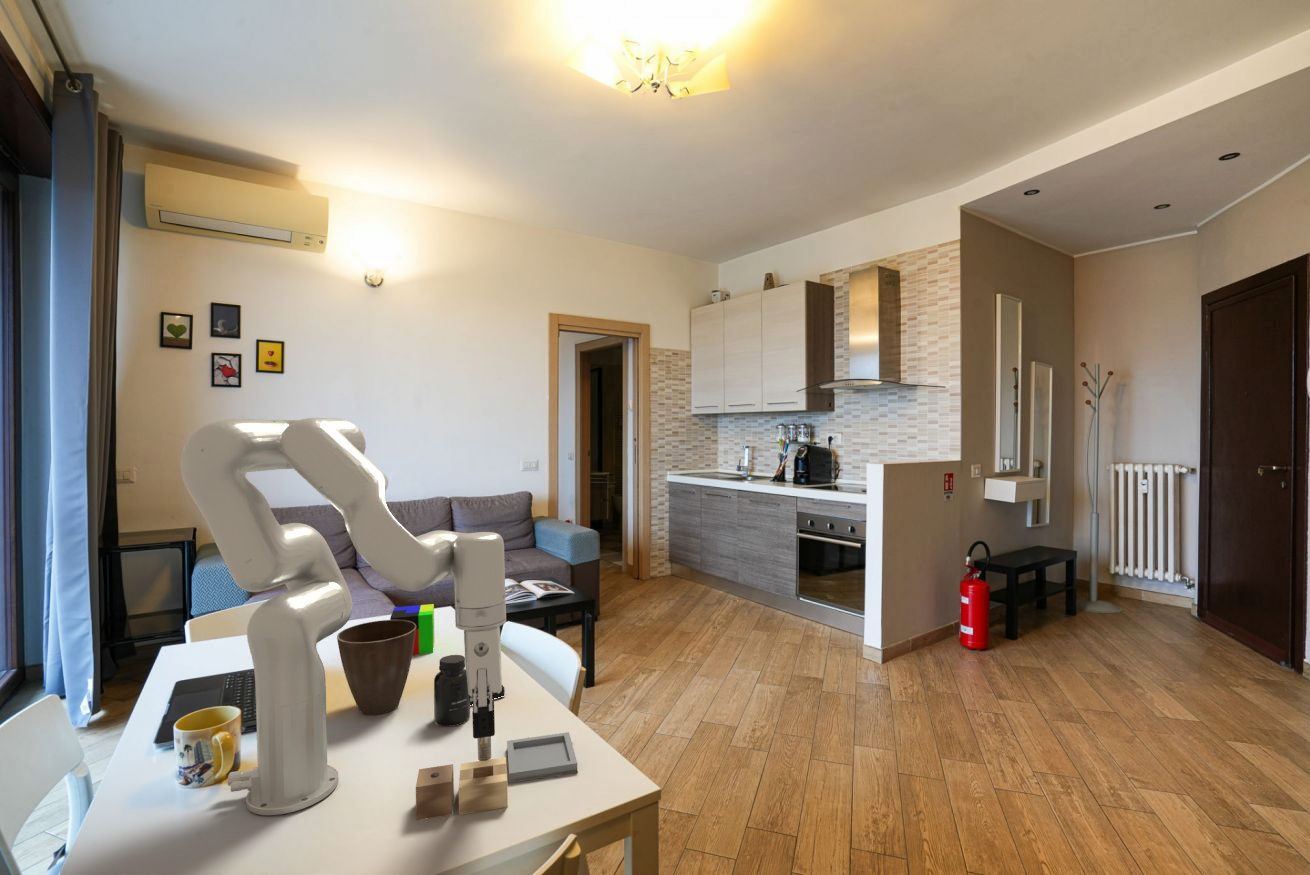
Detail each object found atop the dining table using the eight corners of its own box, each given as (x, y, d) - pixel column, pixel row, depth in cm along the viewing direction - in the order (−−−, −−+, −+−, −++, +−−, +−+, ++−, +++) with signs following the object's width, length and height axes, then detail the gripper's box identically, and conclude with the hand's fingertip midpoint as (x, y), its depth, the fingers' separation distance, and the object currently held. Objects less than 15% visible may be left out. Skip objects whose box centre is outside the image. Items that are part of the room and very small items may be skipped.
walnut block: (416, 821, 91) (415, 786, 91) (419, 801, 96) (419, 768, 96) (452, 814, 92) (451, 780, 92) (453, 795, 97) (453, 763, 97)
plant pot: (321, 715, 125) (320, 636, 125) (382, 687, 138) (381, 615, 138) (374, 730, 119) (373, 646, 118) (433, 699, 132) (431, 624, 132)
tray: (509, 782, 100) (509, 773, 100) (507, 749, 111) (507, 740, 111) (577, 772, 103) (577, 763, 103) (569, 740, 114) (568, 732, 114)
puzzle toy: (394, 644, 166) (394, 607, 166) (434, 640, 169) (433, 603, 169) (390, 657, 157) (390, 618, 157) (433, 653, 160) (432, 614, 160)
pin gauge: (491, 759, 96) (489, 682, 95) (477, 762, 95) (475, 684, 95) (491, 753, 98) (489, 677, 97) (478, 755, 97) (476, 679, 97)
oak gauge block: (459, 814, 92) (458, 788, 92) (460, 788, 99) (460, 763, 99) (507, 806, 94) (507, 780, 94) (506, 781, 101) (505, 757, 101)
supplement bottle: (459, 728, 119) (458, 666, 119) (427, 725, 120) (426, 664, 120) (477, 712, 126) (476, 653, 125) (446, 710, 127) (445, 651, 127)
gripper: (507, 626, 89) (510, 754, 90) (504, 598, 105) (507, 707, 105) (452, 632, 87) (456, 762, 88) (457, 602, 103) (460, 713, 103)
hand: (484, 731), depth 96 cm, fingers closed on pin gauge, 2 cm apart
